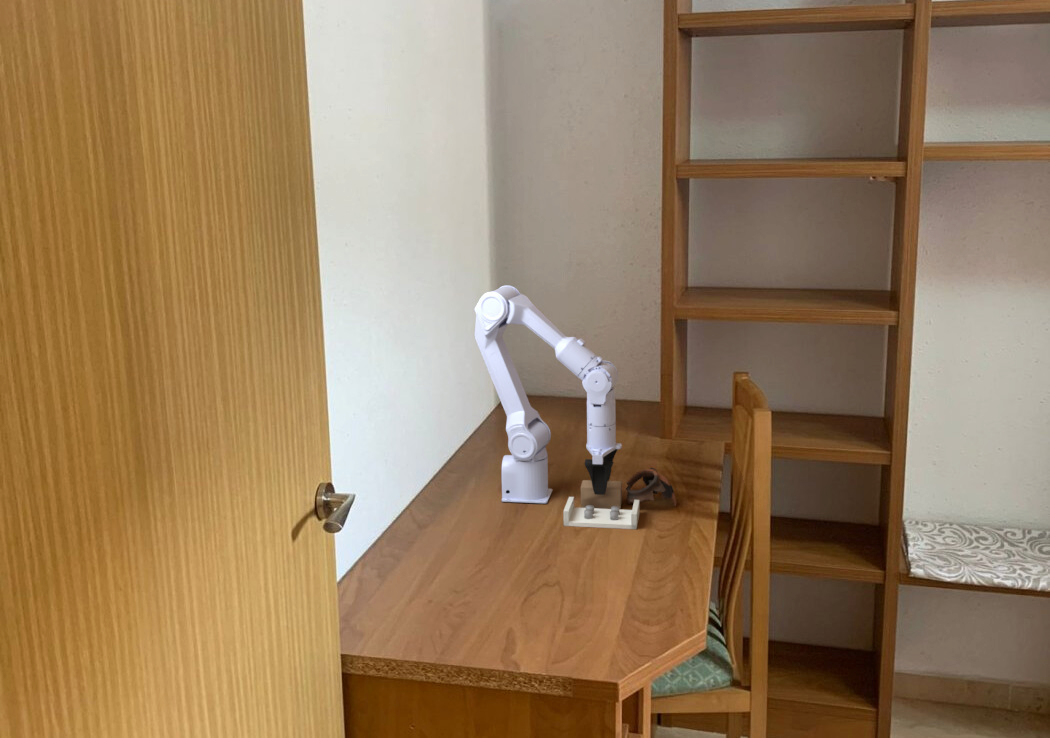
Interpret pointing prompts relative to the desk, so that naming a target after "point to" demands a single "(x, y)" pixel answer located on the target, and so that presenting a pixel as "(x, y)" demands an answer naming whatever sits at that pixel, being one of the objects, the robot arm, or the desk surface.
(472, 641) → the desk surface
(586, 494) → the tan rectangular block
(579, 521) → the peg stand
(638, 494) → the pottery mug
